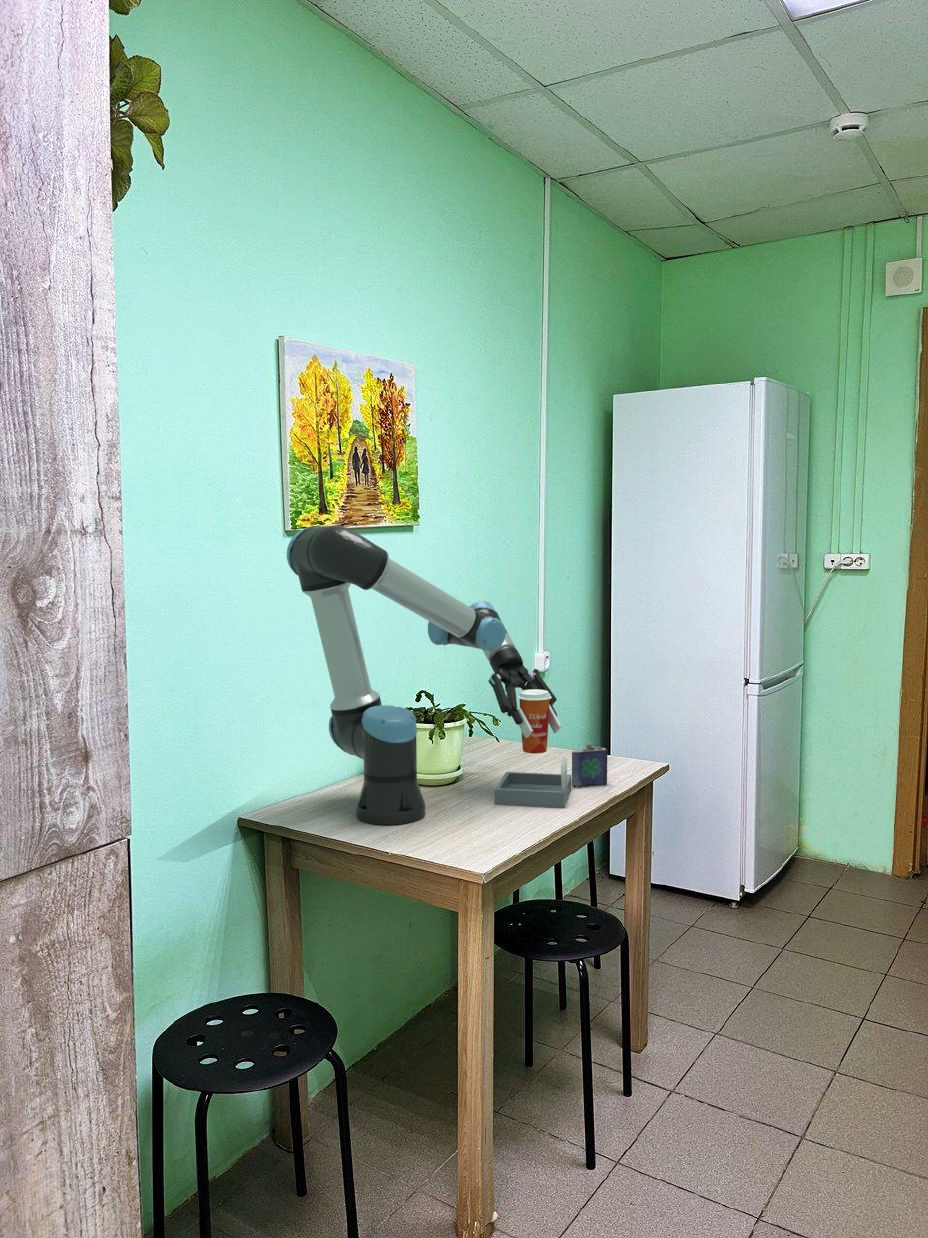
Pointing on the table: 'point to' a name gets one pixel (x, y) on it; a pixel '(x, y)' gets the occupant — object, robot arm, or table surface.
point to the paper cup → (535, 719)
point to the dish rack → (534, 788)
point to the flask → (589, 766)
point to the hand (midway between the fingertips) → (543, 732)
